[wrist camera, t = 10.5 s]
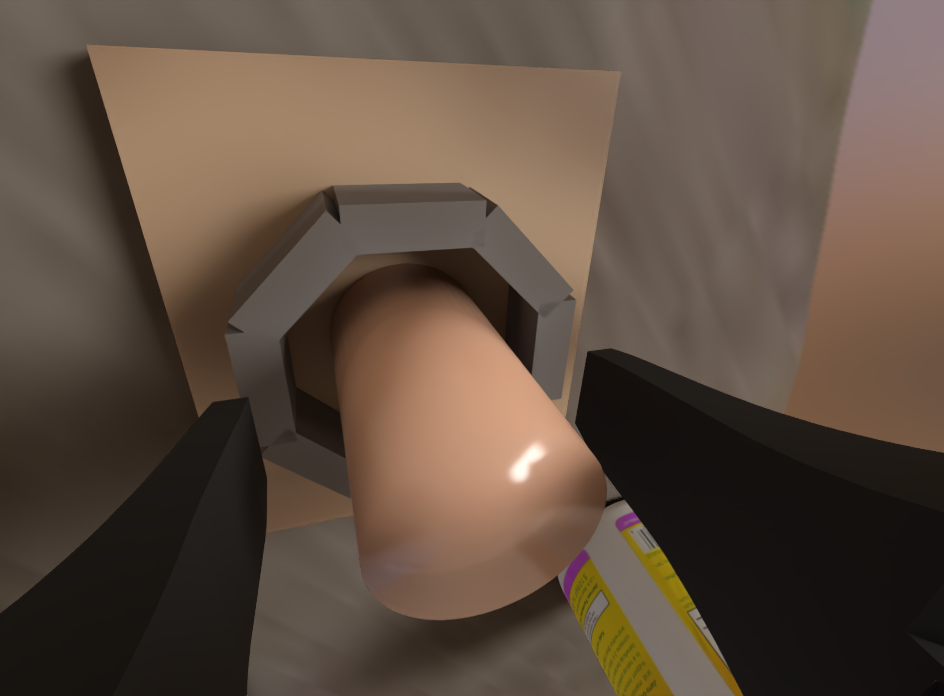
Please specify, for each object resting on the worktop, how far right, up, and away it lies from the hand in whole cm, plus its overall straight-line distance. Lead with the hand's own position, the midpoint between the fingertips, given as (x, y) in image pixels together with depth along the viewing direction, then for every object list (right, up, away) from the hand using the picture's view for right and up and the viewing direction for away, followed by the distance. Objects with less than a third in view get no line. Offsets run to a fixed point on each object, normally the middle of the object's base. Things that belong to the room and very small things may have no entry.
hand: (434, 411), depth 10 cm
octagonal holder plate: (-1, +2, +4) cm, 5 cm away
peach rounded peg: (-1, +2, +3) cm, 4 cm away
